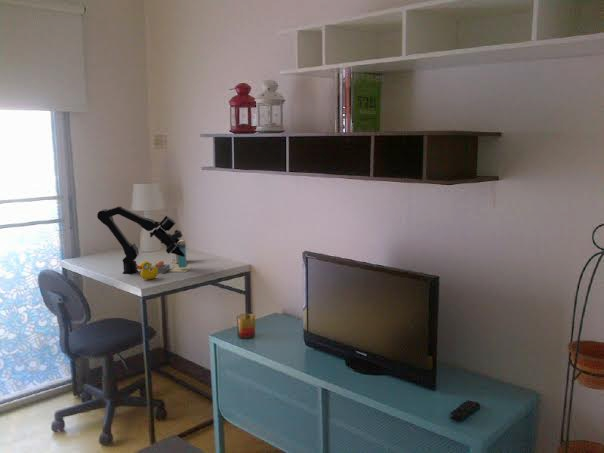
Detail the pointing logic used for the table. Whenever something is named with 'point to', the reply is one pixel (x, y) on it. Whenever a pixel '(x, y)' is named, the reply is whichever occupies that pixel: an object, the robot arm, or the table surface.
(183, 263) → the teal cylinder
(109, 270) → the table surface
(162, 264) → the button
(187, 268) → the sketchbook
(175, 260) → the supplement box
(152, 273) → the duckling
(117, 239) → the robot arm
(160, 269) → the button housing
